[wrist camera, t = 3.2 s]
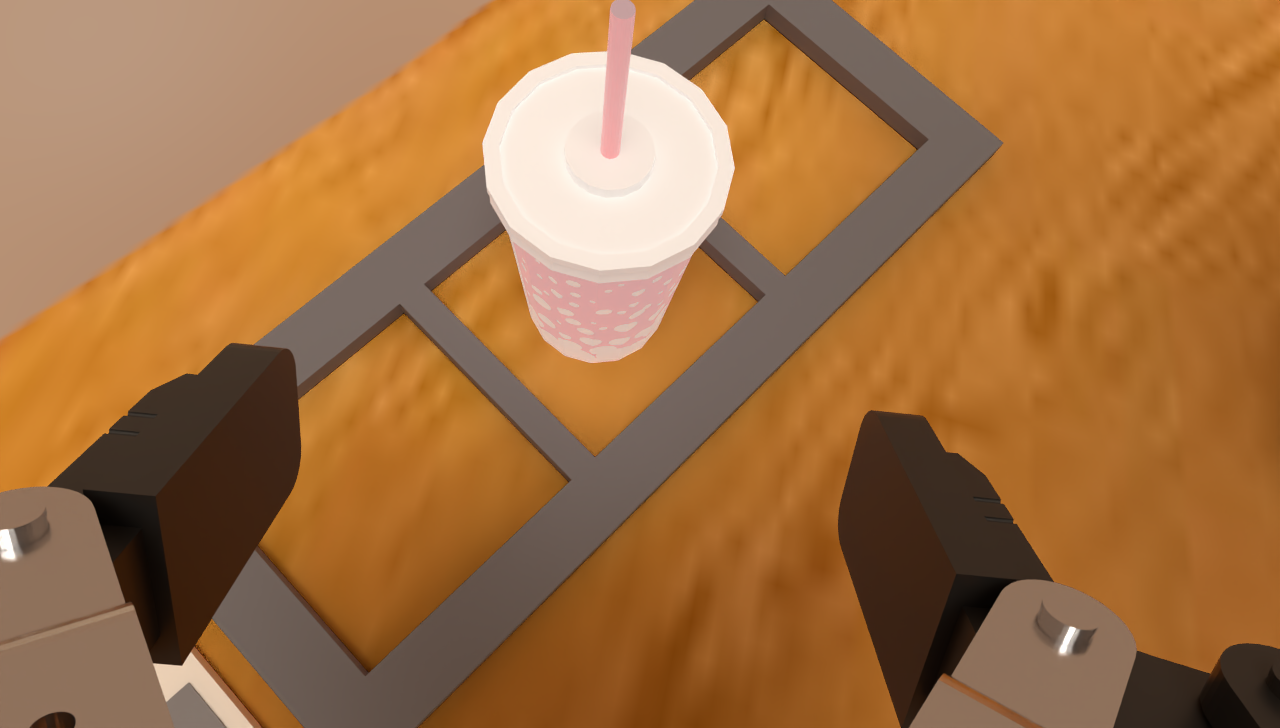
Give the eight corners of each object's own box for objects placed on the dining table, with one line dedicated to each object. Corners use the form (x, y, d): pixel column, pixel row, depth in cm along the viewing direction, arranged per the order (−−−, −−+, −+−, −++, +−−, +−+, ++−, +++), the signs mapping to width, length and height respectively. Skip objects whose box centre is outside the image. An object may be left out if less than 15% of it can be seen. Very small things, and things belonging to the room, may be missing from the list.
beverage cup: (711, 355, 29) (833, 105, 16) (535, 408, 28) (510, 188, 15) (651, 199, 31) (717, -143, 18) (484, 244, 30) (420, -85, 16)
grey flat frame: (760, -40, 35) (765, -55, 34) (993, 154, 33) (1003, 142, 32) (102, 478, 26) (89, 473, 25) (361, 783, 24) (354, 787, 23)
